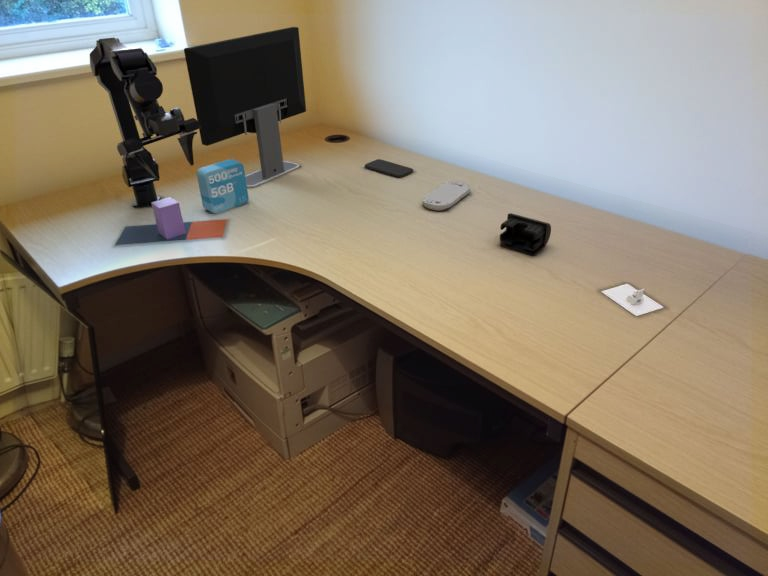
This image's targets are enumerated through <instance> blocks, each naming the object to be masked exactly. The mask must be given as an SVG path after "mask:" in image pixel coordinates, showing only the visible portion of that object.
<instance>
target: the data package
mask: <svg viewBox="0 0 768 576" xmlns="http://www.w3.org/2000/svg"><path fill="white" fill-rule="evenodd" d="M245 176H246V172H245V166H244V164H243V163H242V162H241V161H237V160H235V159H232V158H229V159H226V160H225V159H224V160H222V161H219V162H215V163H212V164H209V165H205V166H202V167H199V168H198V169H197V171H196V178H197V183H198V189H199V193H200V198H201V203H202V204H201V205H202V207H203V209H205V210H207V211H208V212H210V213H212V214H219V213H221V212H224V211H226V210H230V209H233V208H236V207H240V206H242V205H244V204H246V203H247V202H248V201H249V192H248V187H247V184H246V178H245Z"/></svg>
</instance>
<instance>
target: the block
mask: <svg viewBox="0 0 768 576" xmlns="http://www.w3.org/2000/svg"><path fill="white" fill-rule="evenodd" d="M151 204H152V206H151V207H152V211H153V215H154V219H155V223H156V224H157V228H158V232H159V234H161V235H162V236H163V237H164V238H166V239H170V238H173V237H176V236H180V235H183V234H186V233H185V228H184V224H183V222H184V220H183V219H184V218H183V215H182V211H181V206H180V202H179V201H177V200H176V199H174V198H173V197H171V196H168V197H165V198H162V199H161V198H160V200H158V201H154V202H151Z"/></svg>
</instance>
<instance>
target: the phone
mask: <svg viewBox="0 0 768 576" xmlns="http://www.w3.org/2000/svg"><path fill="white" fill-rule="evenodd" d="M364 168H366V169H367V170H368V169H369V170H373V171H376V172H378V173H381V174H385V175H389V176H391V177H395V178H402V177H405V176H407V175H410V174H412V173H413V172H414V168H412V167H408V166H405V165H403V164H402V165H401V164H398V163H395V162H391V161H388V160H384V159H380V158H378V159H375V160H374V159H373V160H371V161H370V162H367V163H365V164H364Z"/></svg>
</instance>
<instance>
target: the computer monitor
mask: <svg viewBox="0 0 768 576" xmlns="http://www.w3.org/2000/svg"><path fill="white" fill-rule="evenodd" d="M300 40H301V39H300V30H299V27H298V26H290V27H285V28H279V29H276V30H271V31H270V30H269V31H264V32H259V33H255V34H250V35H246V36H244V35H243V36H240V37H239V36H238V37H235V38H228V39H225V40H224V39H223V40H219V41H213V42H209V43H205V44H199V45H193V46H189V47H185V48H184V49H183V52H184V58H185V63H186V68H187V74H188V78H189V79H188V80H189V83H190V84H189V85H190V90H191V95H192V99H193V106H194V110H195V115H196V120H197V121H198V122H199V125H200V127H201V128H200V129H198V131H199V136H200V141H201V145H202V146H206V147H209V146H211V145H214V144H217V143H220V142H223V141H226V140H228V139H231V138H235V137H237V136H240V135H243V134H244V136H247V135H248V133H249V134H256V141H257V147H258V155H259V156H258V157H259V163H260V169H259V170H255V171H253V172H251V173H249V174H245V178H246V184H247V188H255V187H258V186H260V185H262V184H265V183H266V182H269V181H272V180H274V179H276V178H279V177H280V176H282V175H285V174H287V173H290V172H292V171H294V170H296V169H299V167H300V164H299V163H296V162H292V161H287V160H284V158H283V150H282V142H281V134H280V126H279V124H282V121H283V120H286V119H289V118H292V117H295V116H297V115H300V114H304V113H306V112H307V105H306V94H305V84H304V73H303V72H304V71H303V61H302V52H301V51H302V50H301V41H300Z"/></svg>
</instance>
